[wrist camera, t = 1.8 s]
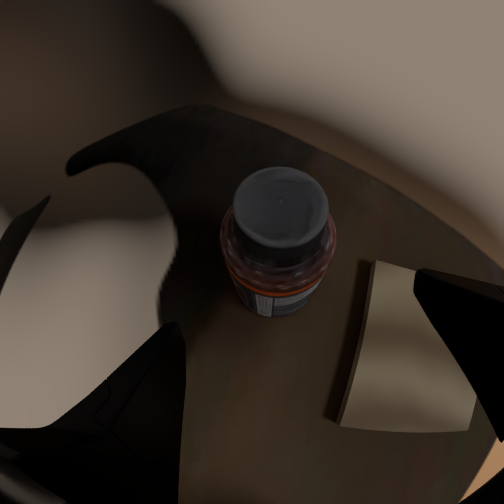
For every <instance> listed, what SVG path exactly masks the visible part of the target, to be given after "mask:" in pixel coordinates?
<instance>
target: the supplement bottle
mask: <svg viewBox="0 0 504 504" xmlns="http://www.w3.org/2000/svg"><path fill="white" fill-rule="evenodd" d="M219 238H220V247H221V251H222V255H223V257H224V260H225V263H226V266H227V268H228V271H229V273H230V276H231V278H232V280H233V282H234V285H235V288H236V291H237V293H238V295H239V297H240V298H241V300H242V301H243V303H244V304H245V305H246V306H247V307H248V308H249V309H250V310H251V311H253V312H254V313H256V314H258V315H260V316H263V317H267V318H282V317H286V316H289V315H292V314H293V313H295V312H297V311H298V310H299V309H300V308H302V307H303V306H304V305H305V303H306V302H307V301H308V300H309V298H310V296H311V295H312V293H313V292H314V290H315V289H316V287H317V285H318V284H319V282H320V280H321V279H322V277H323V276H324V274H325V272H326V271H327V269H328V267H329V265H330V263H331V261H332V259H333V256H334V253H335V248H336V239H337V238H336V229H335V225H334V222H333V219H332V217H331V215H330V213H329V205H328V200H327V196H326V194H325V192H324V190H323V189H322V187H321V186H320V184H319V183H318V182H317V181H316V180H314V179H313V178H312V177H311V176H309V175H308V174H306V173H304V172H302V171H299V170H296V169H293V168H289V167H270V168H265V169H262V170H259V171H257V172H255V173H253V174H251V175H250V176H248V177H247V178H245V179H244V180H243V181H242V183H241V184H240V185H239V187H238V188H237V190H236V192H235V195H234V198H233V204H232V205H231V207H230V208H229V209H228V211H227V213H226V215H225V216H224V219H223V221H222V225H221V228H220V236H219Z"/></svg>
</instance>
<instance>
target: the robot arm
mask: <svg viewBox="0 0 504 504" xmlns="http://www.w3.org/2000/svg"><path fill="white" fill-rule="evenodd" d="M413 293H414V295H415V297H416V299H417V300H418V302H419V304H420V305H421V307H422V309H423V311H424V312H425V314H426V316H427V318H428V319H429V321H430V323H431V324H432V326H433V327H434V329H435V330H436V331H437V333H438V334H439V336H440V337H441V339H442V340H443V342H444V343H445V345H446V346H447V348H448V349H449V351H450V352H451V354H452V355H453V357H454V358H455V360H456V362H457V363H458V365H459V366H460V368H461V370H462V371H463V373H464V375H465V376H466V378H467V380H468V381H469V383H470V385H471V386H472V388H473V390H474V392H475V393H476V395H477V397H478V399H479V401H480V403H481V405H482V407H483V409H484V410H485V412H486V414H487V416H488V418H489V420H490V422H491V424H492V426H493V428H494V430H495V433H496V435H497V437H498V439H499V441H500V442H503V440H504V287H503V286H499V285H495V284H491V283H487V282H483V281H478V280H474V279H470V278H466V277H462V276H457V275H453V274H449V273H444V272H440V271H436V270H431V269H427V268H423V269H420V270H417V271H416V272H415V278H414V286H413ZM185 389H186V345H185V340H184V337H183V335H182V332H181V330H180V327H179V325H178V323H177V322H169V323H165V324H164V325H163V326H162V327H161V328H160V329H159V330H158V331H157V332H155V333H154V334H153V335H152V336H151V337H150V338H149V339H148V340H147V341H146V342H145V343H144V344H143V345H142V346H141V347H139V349H137V350H136V351H135V352H134V353H133V354H132V355H131V356H130V357H129V358H128V359H127V360H126V361H125V362H123V363H122V364H121V365H120V366H119V367H118V368H117V369H116V370H115V371H114V372H113V373H112V374H111V375H110V376H109V377H107V379H105V380H104V381H103V382H102V383H101V384H100V385H99V386H98V387H97V388H96V389H95V390H94V391H92V392H91V393H90V394H89V395H88V396H87V397H85V398H84V399H83V400H82V401H80V402H79V403H78V404H77V405H75V406H74V407H73V408H72V409H70V410H69V411H68V412H67V413H65V414H64V415H63V416H61V417H60V418H59V419H58V420H56V421H55V422H53V423H52V424H50V425H48V426H45V427H41V428H0V504H178V486H179V464H180V448H181V434H182V421H183V410H184V399H185ZM458 504H504V468H503V469H502V470H501V471H499V472H498V473H497V474H496V475H495V476H494V477H492V478H491V479H490V480H489V481H488V482H486V483H485V484H484V485H483V486H481V487H480V488H479V489H477V490H476V491H475V492H474V493H472V494H471V495H470V496H468V497H467V498H466V499H464V500H462V501H461V502H460V503H458Z"/></svg>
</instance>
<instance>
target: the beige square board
mask: <svg viewBox="0 0 504 504" xmlns="http://www.w3.org/2000/svg"><path fill="white" fill-rule="evenodd" d="M415 272H416V271H413V270H410V269H406V268H403V267H399V266H395V265H392V264H388V263H385V262H381V261H377V260H376V261H375V262H374V263H373V264H372V265H371V270H370V278H369V284H368V291H367V297H366V303H365V309H364V314H363V319H362V325H361V330H360V334H359V339H358V344H357V348H356V352H355V357H354V361H353V365H352V369H351V373H350V376H349V380H348V384H347V387H346V391H345V394H344V398H343V401H342V404H341V408H340V411H339V414H338V417H337V420H336V424H338V425H339V426H342V427H350V428H358V429H368V430H379V431H394V432H453V431H467V430H468V428H469V424H470V421H471V417H472V413H473V409H474V405H475V401H476V397H477V395H476V393H475V392H474V390H473V388H472V386H471V385H470V383H469V381H468V380H467V378H466V376H465V375H464V373H463V371H462V370H461V368H460V366H459V365H458V363H457V362H456V360H455V358H454V357H453V355H452V354H451V352H450V351H449V349H448V348H447V346H446V345H445V343H444V342H443V340H442V339H441V337H440V336H439V334H438V333H437V331H436V330H435V329H434V327H433V326H432V324H431V323H430V321H429V319H428V318H427V316H426V314H425V312H424V311H423V309H422V307H421V305H420V304H419V302H418V300H417V299H416V297H415V295H414V293H413V286H414V278H415Z"/></svg>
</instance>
